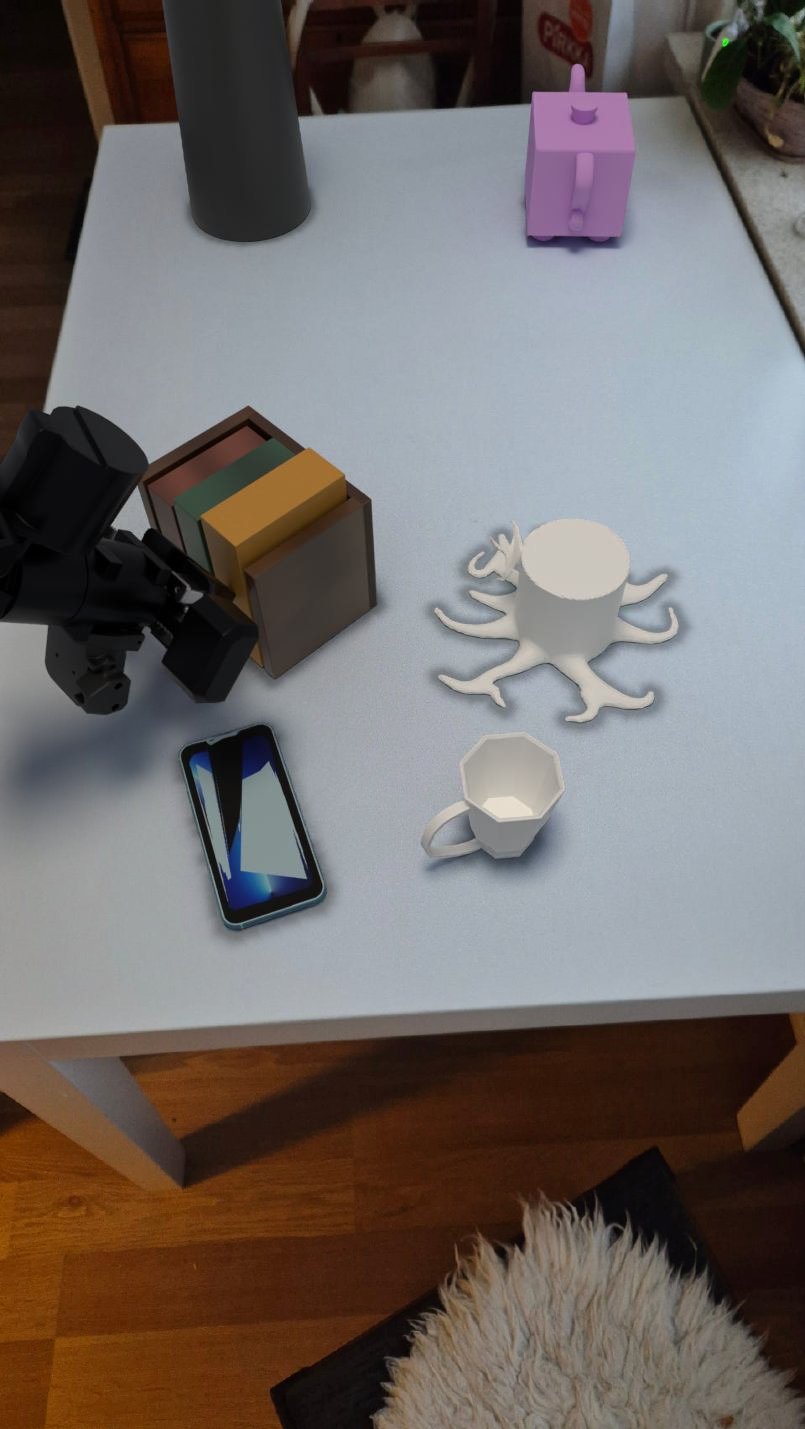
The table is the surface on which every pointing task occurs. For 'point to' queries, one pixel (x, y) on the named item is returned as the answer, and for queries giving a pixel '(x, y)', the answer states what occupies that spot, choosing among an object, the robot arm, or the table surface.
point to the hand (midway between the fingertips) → (230, 597)
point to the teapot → (578, 162)
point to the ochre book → (269, 519)
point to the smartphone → (250, 826)
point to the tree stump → (561, 608)
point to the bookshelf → (294, 576)
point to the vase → (237, 117)
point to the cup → (502, 796)
